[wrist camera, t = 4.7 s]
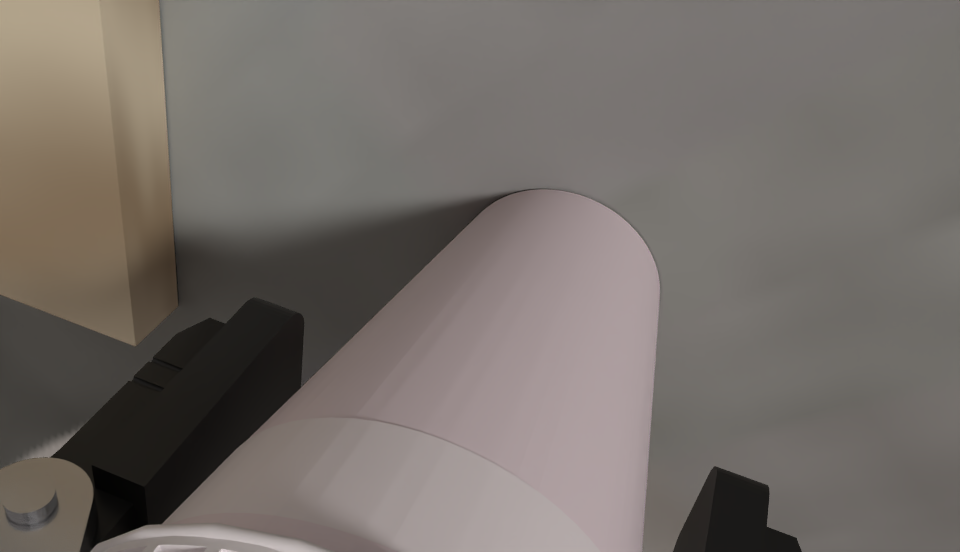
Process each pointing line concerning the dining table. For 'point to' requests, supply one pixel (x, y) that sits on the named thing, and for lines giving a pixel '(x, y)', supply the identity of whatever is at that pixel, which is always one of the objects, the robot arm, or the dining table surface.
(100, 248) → the collar stand
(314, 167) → the dining table surface
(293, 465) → the smoothie
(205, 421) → the robot arm
